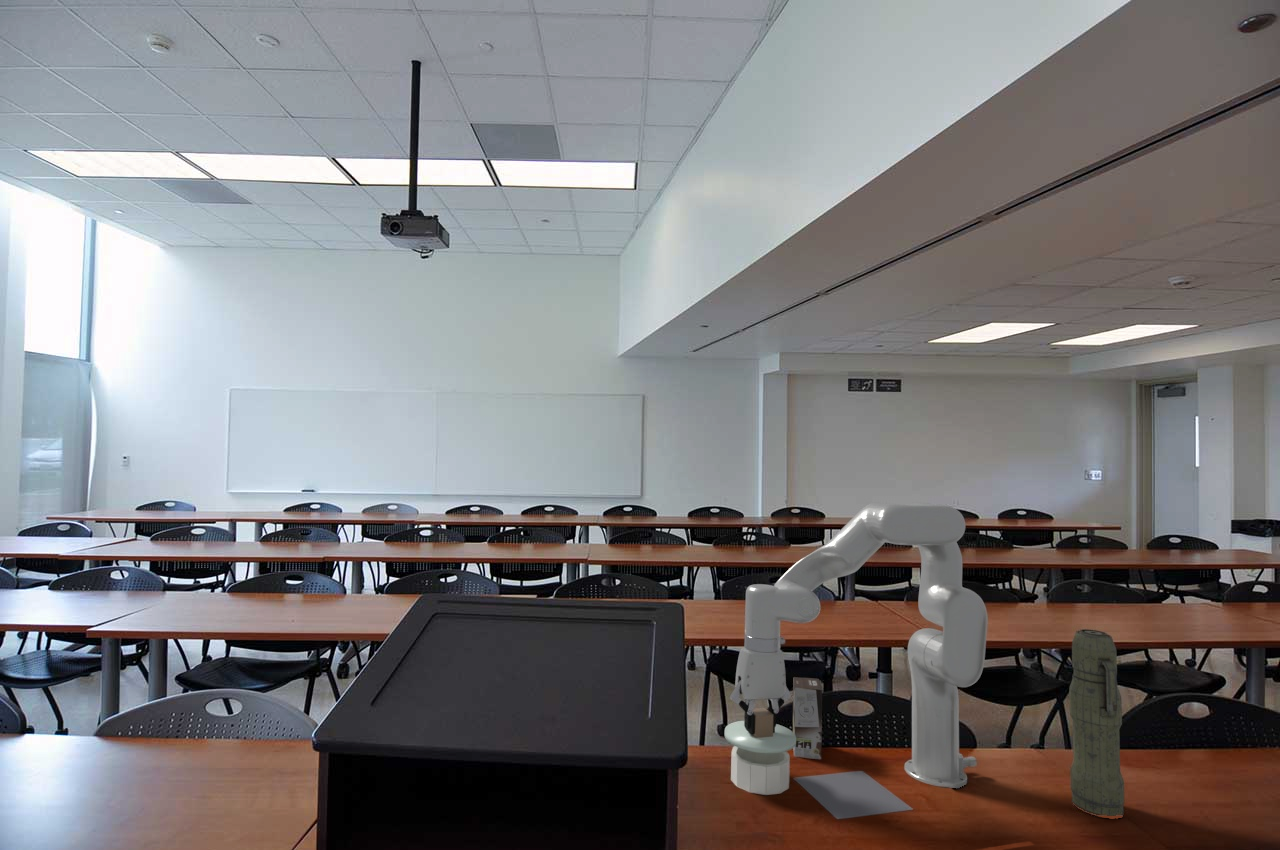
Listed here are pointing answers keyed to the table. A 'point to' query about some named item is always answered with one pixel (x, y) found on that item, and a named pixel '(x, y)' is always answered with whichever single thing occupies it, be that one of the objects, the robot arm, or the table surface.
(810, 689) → the coffee box
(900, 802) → the mat
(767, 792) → the bowl
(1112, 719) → the thermos
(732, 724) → the lid
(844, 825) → the table surface
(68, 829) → the table surface
